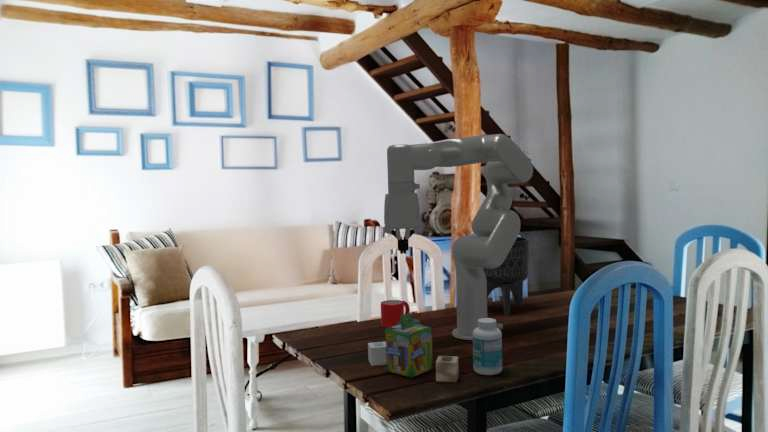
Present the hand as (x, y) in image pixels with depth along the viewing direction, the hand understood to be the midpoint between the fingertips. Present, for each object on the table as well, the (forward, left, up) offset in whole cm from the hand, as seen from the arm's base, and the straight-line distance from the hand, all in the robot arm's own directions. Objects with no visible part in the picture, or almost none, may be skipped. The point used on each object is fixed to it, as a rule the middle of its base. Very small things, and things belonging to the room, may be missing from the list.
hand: (403, 253), depth 170 cm
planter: (-39, -48, -29) cm, 68 cm away
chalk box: (0, +15, -29) cm, 33 cm away
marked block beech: (-9, +22, -29) cm, 38 cm away
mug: (+1, -34, -29) cm, 45 cm away
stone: (-1, -5, -29) cm, 30 cm away
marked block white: (+8, +7, -29) cm, 31 cm away
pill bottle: (-20, +18, -29) cm, 40 cm away
